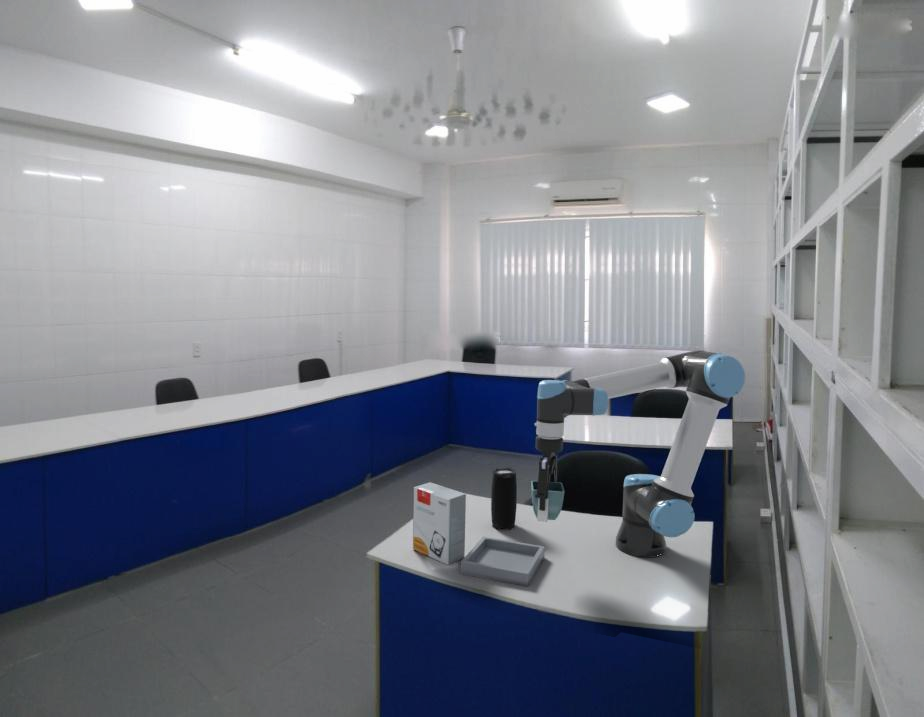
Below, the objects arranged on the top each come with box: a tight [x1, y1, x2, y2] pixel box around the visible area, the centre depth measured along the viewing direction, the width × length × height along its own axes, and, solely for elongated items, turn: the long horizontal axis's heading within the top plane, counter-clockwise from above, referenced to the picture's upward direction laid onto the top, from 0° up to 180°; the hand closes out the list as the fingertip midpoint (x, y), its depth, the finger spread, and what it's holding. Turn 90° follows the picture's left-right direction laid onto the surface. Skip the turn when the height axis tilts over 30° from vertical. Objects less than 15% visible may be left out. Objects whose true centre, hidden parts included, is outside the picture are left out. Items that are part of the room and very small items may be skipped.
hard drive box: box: [412, 481, 467, 566], centre depth 179 cm, size 16×8×20 cm, turn 47°
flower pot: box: [530, 480, 565, 521], centre depth 166 cm, size 9×9×9 cm
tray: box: [460, 536, 546, 587], centre depth 172 cm, size 19×19×4 cm
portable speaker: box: [490, 467, 518, 530], centre depth 201 cm, size 9×9×20 cm
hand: (546, 515), depth 166 cm, fingers closed on flower pot, 9 cm apart
